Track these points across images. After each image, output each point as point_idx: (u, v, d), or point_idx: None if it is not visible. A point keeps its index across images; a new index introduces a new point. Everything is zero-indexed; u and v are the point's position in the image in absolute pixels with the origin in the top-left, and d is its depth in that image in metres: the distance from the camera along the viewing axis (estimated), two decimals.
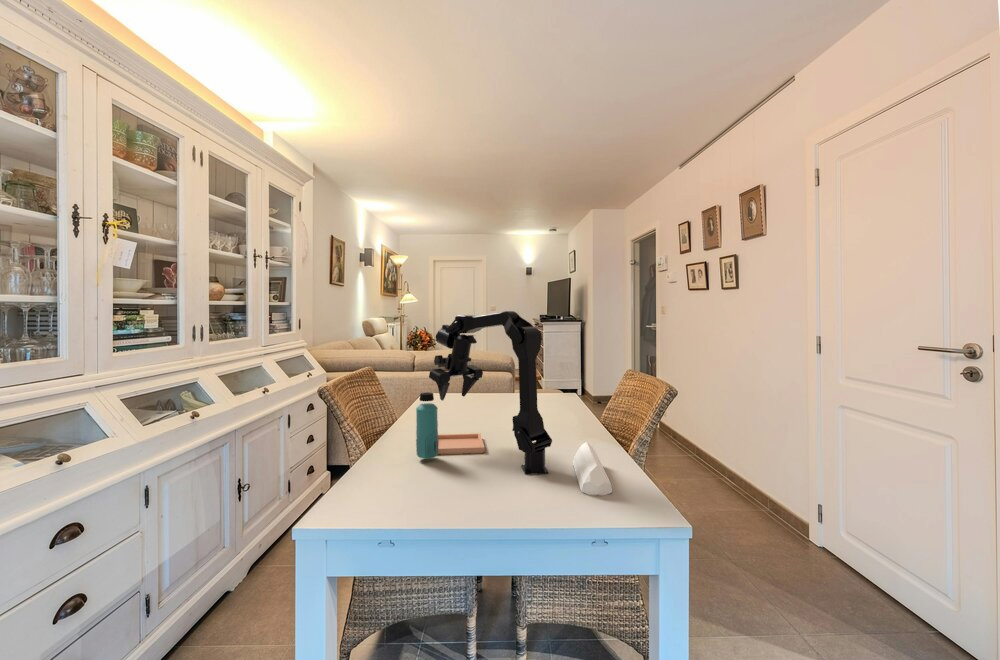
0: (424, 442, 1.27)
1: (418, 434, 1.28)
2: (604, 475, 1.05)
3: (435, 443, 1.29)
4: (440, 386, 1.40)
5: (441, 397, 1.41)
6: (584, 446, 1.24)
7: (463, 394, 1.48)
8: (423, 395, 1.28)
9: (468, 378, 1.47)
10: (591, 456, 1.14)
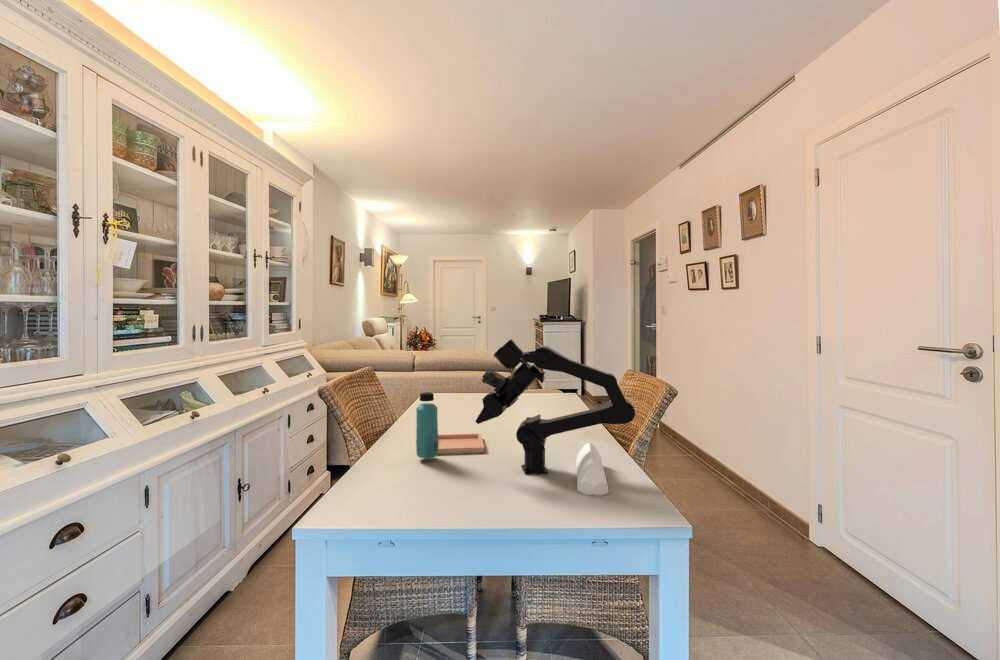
0: (424, 442, 1.27)
1: (418, 434, 1.28)
2: (600, 475, 1.05)
3: (435, 443, 1.29)
4: (485, 411, 1.19)
5: (479, 420, 1.20)
6: (586, 446, 1.24)
7: None
8: (423, 395, 1.28)
9: None
10: (590, 456, 1.14)
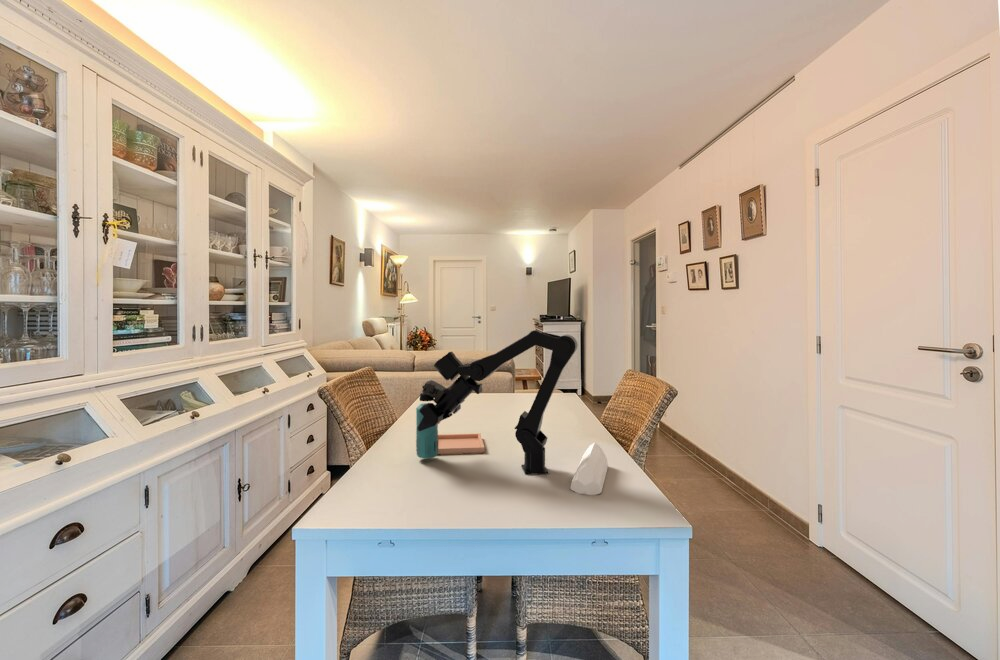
0: (424, 442, 1.27)
1: (418, 434, 1.28)
2: (592, 475, 1.06)
3: (435, 443, 1.29)
4: (426, 419, 1.25)
5: (420, 428, 1.27)
6: (590, 446, 1.24)
7: None
8: (423, 395, 1.28)
9: None
10: (588, 456, 1.14)
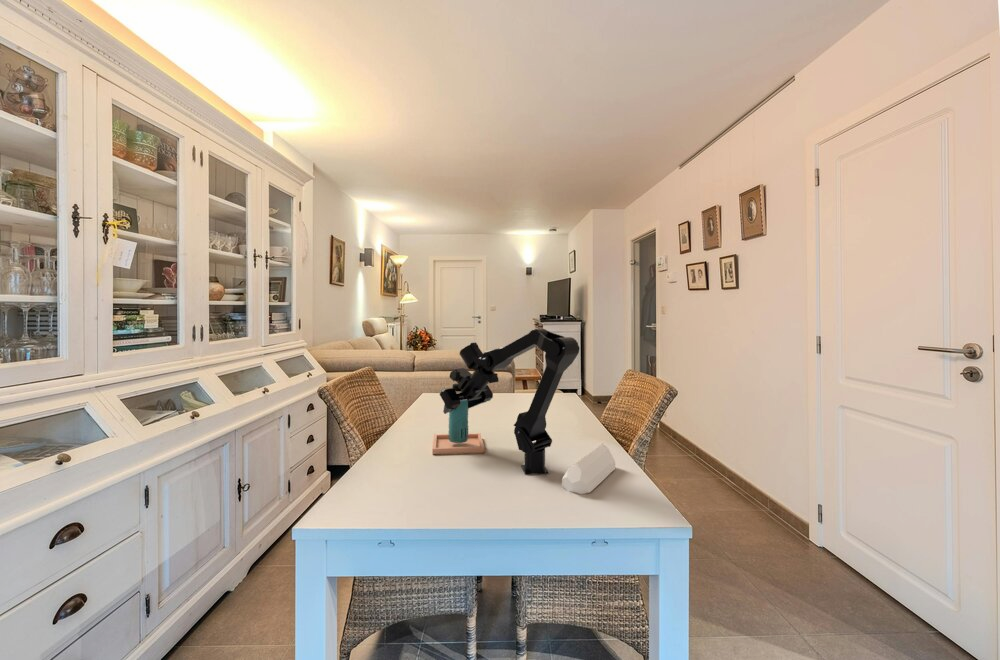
0: (452, 428, 1.41)
1: (449, 420, 1.43)
2: (580, 473, 1.06)
3: (462, 430, 1.41)
4: None
5: (444, 411, 1.40)
6: None
7: None
8: (453, 385, 1.42)
9: None
10: (586, 455, 1.14)
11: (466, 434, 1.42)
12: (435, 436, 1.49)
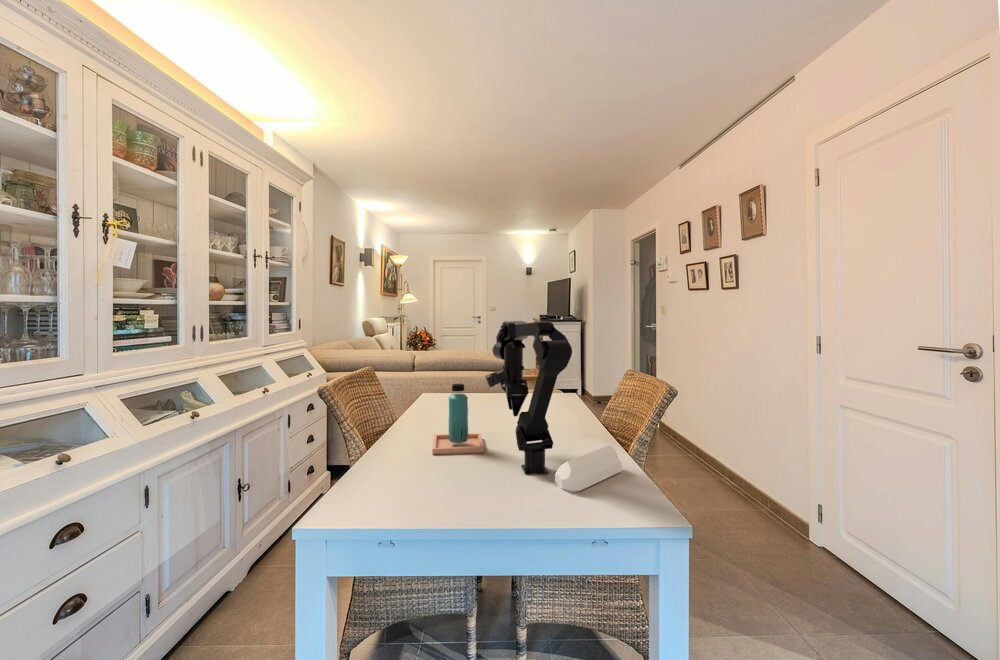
0: (452, 428, 1.41)
1: (449, 420, 1.43)
2: (570, 471, 1.08)
3: (462, 430, 1.41)
4: (514, 401, 1.29)
5: (516, 413, 1.30)
6: None
7: (511, 407, 1.40)
8: (453, 385, 1.42)
9: None
10: (583, 455, 1.15)
11: (466, 434, 1.42)
12: (435, 436, 1.49)
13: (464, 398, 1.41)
